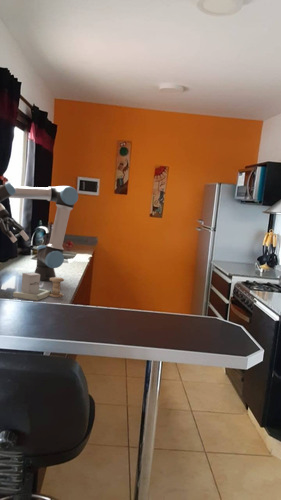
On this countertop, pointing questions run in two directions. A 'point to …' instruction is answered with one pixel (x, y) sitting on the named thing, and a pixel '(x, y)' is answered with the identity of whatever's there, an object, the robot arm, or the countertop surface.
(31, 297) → the u-shaped bracket
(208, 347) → the countertop surface
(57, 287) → the bobbin
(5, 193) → the robot arm
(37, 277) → the supplement box
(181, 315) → the countertop surface
